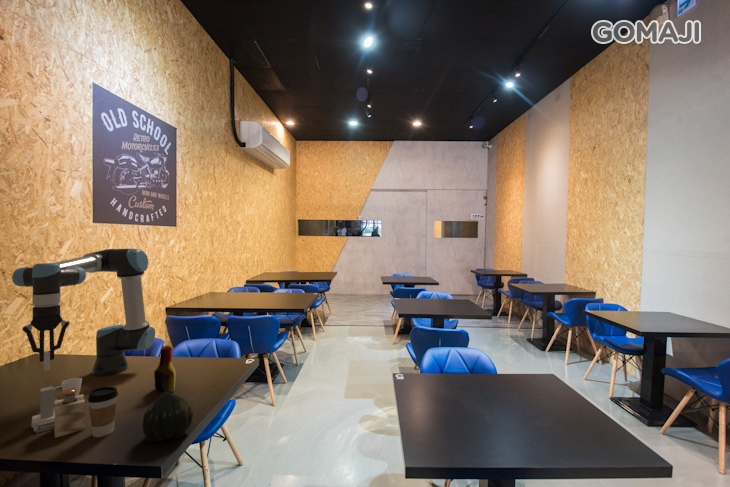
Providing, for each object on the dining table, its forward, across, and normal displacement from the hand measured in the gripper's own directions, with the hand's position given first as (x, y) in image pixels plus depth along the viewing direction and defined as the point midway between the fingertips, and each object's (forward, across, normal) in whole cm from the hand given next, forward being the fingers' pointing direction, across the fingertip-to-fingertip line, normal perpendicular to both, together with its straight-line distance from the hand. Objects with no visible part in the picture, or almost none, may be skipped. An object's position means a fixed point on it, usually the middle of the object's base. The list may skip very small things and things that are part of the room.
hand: (47, 369), depth 126 cm
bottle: (+21, -39, -4) cm, 44 cm away
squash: (+21, -31, +38) cm, 53 cm away
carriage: (+20, 0, 0) cm, 20 cm away
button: (+13, -6, +9) cm, 17 cm away
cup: (+21, -6, -22) cm, 30 cm away
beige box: (+20, -6, +9) cm, 23 cm away
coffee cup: (+21, -15, +21) cm, 33 cm away
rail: (+20, 0, -5) cm, 21 cm away
